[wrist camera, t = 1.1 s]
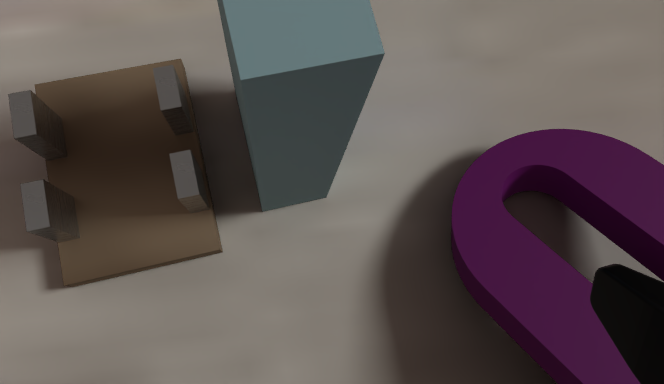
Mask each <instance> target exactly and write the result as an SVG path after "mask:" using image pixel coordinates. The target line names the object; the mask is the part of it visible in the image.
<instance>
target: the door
mask: <svg viewBox="0 0 664 384" xmlns="http://www.w3.org/2000/svg"><path fill="white" fill-rule="evenodd" d="M217 1H218V6H219V11H220V16H221V21H222V26H223V31H224V36H225V42H226V47H227V52H228V57H229V62H230V67H231V72H232V77H233V82H234V87H235V92H236V96H237V101H238V105H239V110H240V114H241V119H242V123H243V127H244V132H245V136H246V141H247V145H248V150H249V154H250V159H251V163H252V167H253V172H254V176H255V181H256V185H257V190H258V194H259V198H260V203H261V207H262V212H263V211H268V210H272V209H277V208H281V207H285V206H290V205H294V204H299V203H303V202H308V201H312V200H317V199H321V198H326V197H327V194H328V192H329V189H330V187H331V184H332V182H333V179H334V177H335V174H336V172H337V170H338V167H339V165H340V162H341V160H342V157H343V155H344V152H345V150H346V147H347V145H348V142H349V140H350V137H351V135H352V133H353V130H354V128H355V125H356V123H357V120H358V118H359V115H360V113H361V110H362V108H363V105H364V103H365V101H366V98H367V96H368V93H369V91H370V88H371V86H372V83H373V81H374V78H375V76H376V73H377V71H378V68H379V66H380V64H381V61H382V59H383V56H384V54H385V53H384V49H383V46H382V42H381V39H380V35H379V32H378V28H377V25H376V22H375V18H374V15H373V11H372V8H371V4H370V1H369V0H217Z"/></svg>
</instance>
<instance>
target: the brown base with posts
mask: <svg viewBox="0 0 664 384" xmlns="http://www.w3.org/2000/svg"><path fill="white" fill-rule="evenodd" d="M35 90H36V95H35V94H34V93H33V92H32V91H31V90H29V91H23V92H18V93H12V94H8V96H9V104H10V111H11V119H12V126H13V134H14V139H16V140H17V141H19V142H20V143H22V144H23V145H25V146H27V147H28V148H30V149H31V150H33V151H34V152H36V153H37V154H39V155H40V156H42V157H43V158H45V159H46V166H47V173H48V180H49V183H48V182H47V181H45V180H38V181H33V182H28V183H23V184H20V186H21V193H22V201H23V208H24V216H25V223H26V231H27V232H30V233H33V234H36V235H39V236H42V237H45V238H48V239H51V240H54V241H57V242H58V249H59V256H60V263H61V270H62V276H63V283H64V286H70V287H75V286H79V285H83V284H88V283H92V282H96V281H101V280H105V279H109V278H114V277H118V276H122V275H126V274H131V273H135V272H139V271H144V270H148V269H152V268H156V267H161V266H165V265H169V264H174V263H178V262H182V261H186V260H191V259H195V258H199V257H204V256H208V255H212V254H216V253H221V252H223V251H222V247H221V242H220V237H219V232H218V227H217V222H216V218H215V213H214V208H213V203H212V198H211V193H210V189H209V184H208V179H207V174H206V169H205V164H204V160H203V155H202V150H201V145H200V140H199V135H198V131H197V126H196V121H195V116H194V111H193V106H192V102H191V97H190V92H189V87H188V82H187V77H186V73H185V68H184V66H183V63H182V60H181V59H176V60H171V61H165V62H160V63H154V64H148V65H143V66H137V67H131V68H126V69H120V70H114V71H109V72H103V73H98V74H92V75H86V76H81V77H75V78H69V79H64V80H58V81H52V82H47V83H41V84H36V85H35Z"/></svg>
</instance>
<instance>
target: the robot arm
mask: <svg viewBox="0 0 664 384" xmlns="http://www.w3.org/2000/svg"><path fill="white" fill-rule="evenodd" d="M590 302H591V306H592V308H593V310H594V312H595V313H596V315H597V316H598V318H599V320H600V321H601V323H602V325H603V326H604V328H605V329H606V331H607V333H608V334H609V336H610V338H611V339H612V341H613V342H614V344H615V346H616V347H617V349H618V351H619V352H620V354H621V355H622V357H623V359H624V360H625V362H626V364H627V365H628V367H629V368H630V370H631V371H632V373H633V374H634V375H635V377H636V378H637V380H638V381H639V382H640V384H664V282H661V281H659V280H656V279H654V278H652V277H649V276H647V275H644V274H642V273H640V272H637V271H635V270H632V269H630V268H628V267H625V266H623V265H620V264H612V265H608V266H604V267H601V268H599V269H598V270H597V271H596V273H595V277H594V281H593V285H592V290H591V294H590Z"/></svg>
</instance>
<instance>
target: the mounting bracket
mask: <svg viewBox="0 0 664 384" xmlns="http://www.w3.org/2000/svg"><path fill="white" fill-rule="evenodd" d="M522 191H540V192H544V193H547V194H549V195H552V196H553V197H555V198H557V199H558V200H559V201H561V202H562V203H563V204H565V205H566V206H567V207H568V208H570V209H571V210H572V211H574V212H575V213H576V214H577V215H579V216H580V217H581V218H583V219H584V220H585V221H586V222H588V223H589V224H590V225H592V226H593V227H594V228H596V229H597V230H598V231H599V232H601V233H602V234H603V235H605V236H606V237H607V238H608V239H610V240H611V241H612V242H614V243H615V244H616V245H618V246H619V247H620V248H621V249H623V250H624V251H625V252H627V253H628V254H629V255H630V256H632V257H633V258H634V259H636V260H637V261H638V262H640V263H641V264H642V265H643V266H645V267H646V268H647V269H649V270H650V271H651V272H652V273H654V274H655V275H656V276H658V277H659V278H660V279H662V280H663V281H664V165H663V164H661V163H660V162H658V161H657V160H655V159H653V158H652V157H650V156H649V155H647V154H646V153H644V152H642V151H640V150H639V149H637V148H635V147H633V146H631V145H629V144H627V143H625V142H622V141H620V140H617V139H615V138H612V137H608V136H605V135H602V134H598V133H593V132H589V131H582V130H572V129H549V130H539V131H534V132H528V133H525V134H521V135H517V136H515V137H512V138H509V139H507V140H505V141H503V142H501V143H498V144H497V145H495V146H493V147H492V148H490V149H489V150H487V151H486V152H485V153H483V154H482V155H481V156H480V157H479V158H478V159H477V160H475V161H474V162H473V164H472V165H471V166H470V167H469V168H468V169H467V171H466V172H465V174H464V176H463V177H462V179H461V181H460V183H459V185H458V187H457V190H456V193H455V196H454V200H453V205H452V223H451V245H452V253H453V259H454V262H455V265H456V269H457V271H458V273H459V276H460V278H461V280H462V282H463V283H464V285H465V287H466V289H467V290H468V291H469V293H470V294H471V295H472V297H473V298H474V299H475V300H476V302H477V303H478V304H479V305H480V306H481V307H482V308H483V309H484V310H485V311H486V312H487V313H488V314H489V315H490V316H491V317H492V318H493V319H494V320H495V321H496V322H497V323H498V324H499V325H500V326H501V327H502V328H503V329H504V330H505V331H506V332H507V333H508V334H509V335H510V336H511V337H512V338H513V339H514V340H515V341H516V342H517V343H518V344H519V345H520V346H521V347H522V348H523V349H524V350H525V351H526V352H527V353H528V354H529V355H530V356H531V357H532V358H533V359H534V360H535V361H536V362H537V363H538V364H539V365H540V366H541V367H542V368H543V369H544V370H545V371H546V372H547V373H548V374H549V375H550V376H551V377H552V378H553V379H554V380H555V381H556V382H557V383H558V384H640V382H639V381H638V380H637V378H636V377H635V375H634V374H633V373H632V371H631V370H630V368H629V367H628V365H627V364H626V362H625V360H624V359H623V357H622V355H621V354H620V352H619V351H618V349H617V347H616V346H615V344H614V342H613V341H612V339H611V338H610V336H609V334H608V333H607V331H606V329H605V328H604V326H603V325H602V323H601V321H600V320H599V318H598V316H597V315H596V313H595V312H594V310H593V308H592V306H591V302H590V294H591V290H592V285H593V284H592V283H591V282H590V281H589V280H587V279H586V278H585V277H584V276H583V275H581V274H580V273H579V272H578V271H577V270H575V269H574V268H573V267H572V266H571V265H570V264H568V263H567V262H566V261H565V260H564V259H562V258H561V257H560V256H559V255H558V254H556V253H555V252H554V251H553V250H552V249H551V248H549V247H548V246H547V245H546V244H545V243H543V242H542V241H541V240H540V239H539V238H537V237H536V236H535V235H534V234H533V233H532V232H530V231H529V230H528V229H527V228H526V227H524V226H523V225H522V224H521V223H520V222H518V221H517V220H516V219H515V218H514V217H513V216H512V215H510V213H509V212H508V211H507V210H506V208H505V206H504V204H503V202H504V201H505V200H506V199H507V198H508V197H510V196H511V195H513V194H515V193H518V192H522Z"/></svg>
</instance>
